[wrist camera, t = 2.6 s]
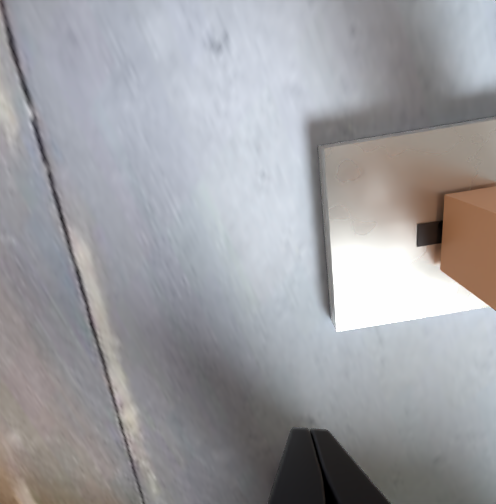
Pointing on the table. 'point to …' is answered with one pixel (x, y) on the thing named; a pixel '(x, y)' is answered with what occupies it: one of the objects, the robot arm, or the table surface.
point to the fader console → (398, 220)
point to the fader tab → (471, 241)
